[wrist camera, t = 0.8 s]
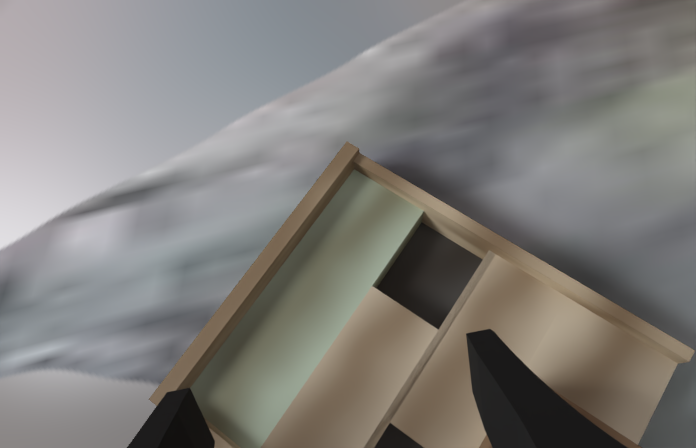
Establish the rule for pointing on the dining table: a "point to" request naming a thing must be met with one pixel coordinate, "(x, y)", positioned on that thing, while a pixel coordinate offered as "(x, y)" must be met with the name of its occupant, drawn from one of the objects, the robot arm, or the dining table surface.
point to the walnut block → (486, 444)
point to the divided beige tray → (403, 328)
